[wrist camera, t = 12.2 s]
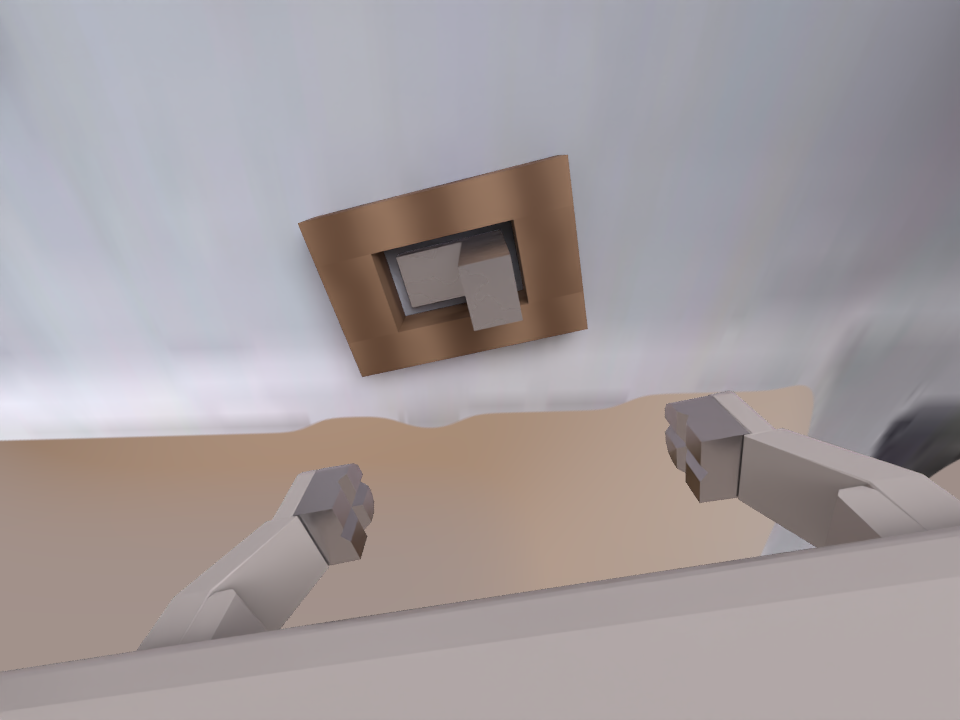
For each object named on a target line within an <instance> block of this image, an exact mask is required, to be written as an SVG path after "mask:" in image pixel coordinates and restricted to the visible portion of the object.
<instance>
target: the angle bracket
mask: <svg viewBox="0 0 960 720" xmlns="http://www.w3.org/2000/svg"><path fill="white" fill-rule="evenodd" d="M396 259H397V262H398V265H399V268H400V271H401V274H402V278H403V281H404V284H405V287H406V290H407V293H408V296H409V299H410V302H411V305H412V308H413V307H418V306H422V305H426V304H431V303H435V302H440V301H444V300H448V299H453V298H457V297H462V296H465V297H466V301H467V305H468V309H469V313H470V316H471V320H472V324H473V328H474V331H476V330H481V329H486V328H490V327H495V326H499V325H504V324H508V323H513V322H518V321H522V320H523V318H522V313H521V308H520V302H519V297H518V292H517V287H516V282H515V276H514V271H513V266H512V261H511V256H510V253H509V250H508V247H507V245H506V242H505V240H504V237H503V234H502V232H501V229H499V230H495V231H491V232H487V233H482V234H478V235H474V236H470V237H466V238H462V239H457V240H453V241H449V242H445V243H441V244H437V245H433V246H428V247H424V248H420V249H416V250H412V251H408V252H403V253H399V255H398V256H397V257H396Z"/></svg>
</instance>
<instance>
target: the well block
mask: <svg viewBox="0 0 960 720" xmlns="http://www.w3.org/2000/svg"><path fill="white" fill-rule="evenodd" d="M510 220H511V225H512V230H513V236H514V241H515V247H516V252H517V257H518V263H519V268H520V274H521V279H522V284H523V290H519V291H517V292H518V297H519V302H520V308H521V313H522V318H523V320H522V321H518V322H513V323H508V324H504V325H499V326H495V327H490V328H486V329H481V330H476V331H474V328H473V324H472V320H471V316H470V313H469V309H468V305H467V302H466V303H462V304H457V305H453V306H448V307H444V308H439V309H435V310H431V311H426V312H422V313H417V314H413V315H408V316H405V313H404V310H403V307H402V304H401V301H400V298H399V295H398V292H397V289H396V286H395V283H394V281H393V278H392V275H391V272H390V269H389V266H388V263H387V260H386V257H385V254H384V251H386V250H390V249H394V248H398V247H402V246H407V245H411V244H415V243H419V242H423V241H427V240H431V239H435V238H440V237H444V236H448V235H452V234H456V233H460V232H464V231H468V230H473V229H477V228H481V227H485V226H489V225H493V224H497V223H501V222H506V221H510ZM298 225H299V228H300V230H301V232H302V235H303V237H304V240H305V242H306V244H307V247H308V249H309V251H310V254H311V256H312V259H313V261H314V263H315V266H316V268H317V270H318V273H319V275H320V278H321V280H322V282H323V285H324V287H325V289H326V292H327V294H328V297H329V299H330V301H331V304H332V306H333V308H334V311H335V313H336V316H337V318H338V320H339V323H340V325H341V328H342V330H343V332H344V335H345V337H346V339H347V342H348V344H349V347H350V349H351V351H352V354H353V356H354V358H355V361H356V363H357V366H358V368H359V370H360V373H361V375H362V377H365V376H369V375H374V374H379V373H383V372H388V371H393V370H397V369H402V368H407V367H411V366H416V365H421V364H425V363H430V362H435V361H439V360H444V359H449V358H454V357H458V356H463V355H468V354H472V353H477V352H482V351H486V350H491V349H496V348H500V347H505V346H510V345H514V344H519V343H524V342H528V341H533V340H538V339H543V338H547V337H552V336H557V335H561V334H566V333H571V332H575V331H580V330H585V329H588V328H587V319H586V311H585V302H584V293H583V284H582V276H581V267H580V258H579V249H578V240H577V232H576V223H575V214H574V205H573V197H572V188H571V179H570V170H569V162H568V155H557V156H553V157H549V158H545V159H541V160H537V161H533V162H529V163H525V164H521V165H517V166H513V167H509V168H506V169H502V170H498V171H494V172H490V173H486V174H482V175H478V176H474V177H470V178H466V179H462V180H458V181H454V182H450V183H447V184H443V185H439V186H435V187H431V188H427V189H423V190H419V191H415V192H411V193H407V194H403V195H399V196H395V197H392V198H388V199H384V200H380V201H376V202H372V203H368V204H364V205H360V206H356V207H352V208H348V209H344V210H340V211H337V212H333V213H329V214H325V215H321V216H317V217H314V218H311V219H308V220H306V221H303V222H300V223H298Z"/></svg>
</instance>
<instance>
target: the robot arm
mask: <svg viewBox="0 0 960 720" xmlns="http://www.w3.org/2000/svg"><path fill="white" fill-rule="evenodd" d="M665 418H666V419H667V421H668V422H669V424H670V426H669V427H668V429H667V430H666V432H665V434H666V444H667V448H668V452H669V455H670V457H671V459H672V461H673V463H674V464H675V466H676V468H677V469H679V470H681V471H683V472H685V473H686V483H687V484H688V486H689V488H690V489H691V491H692V492H693V493H694V495H695V497H696V498H697V499H698V501H699V503H702V502H708V501H716V500H724V499H730V498H738V499H739V500H740V501H742V502H743V503H745V504H747V505H748V506H750V507H752V508H753V509H755V510H756V511H758V512H760V513H761V514H763V515H765V516H766V517H768V518H770V519H771V520H773V521H774V522H776V523H778V524H779V525H781V526H783V527H784V528H786V529H787V530H789V531H791V532H792V533H794V534H796V535H797V536H799V537H800V538H802V539H804V540H805V541H807V542H809V543H810V544H812V545H813V546H815V547H817V548H811V549H804V550H798V551H791V552H785V553H778V554H772V555H765V556H758V557H753V558H745V559H739V560H732V561H726V562H719V563H712V564H706V565H699V566H693V567H686V568H679V569H673V570H666V571H660V572H653V573H647V574H640V575H633V576H627V577H620V578H614V579H607V580H601V581H594V582H587V583H581V584H575V585H568V586H561V587H555V588H548V589H541V590H535V591H528V592H522V593H515V594H509V595H502V596H495V597H489V598H482V599H475V600H469V601H463V602H456V603H450V604H443V605H436V606H430V607H423V608H417V609H410V610H403V611H397V612H390V613H383V614H377V615H370V616H364V617H358V618H351V619H344V620H338V621H331V622H325V623H318V624H311V625H305V626H298V627H291V628H285V629H281V627H282V626H283V625H284V623H285V622H286V621H287V620H288V618H289V617H290V616H291V615H292V613H293V612H294V611H295V610H296V608H297V607H298V606H299V605H300V603H301V602H302V601H303V600H304V598H305V597H306V596H307V594H308V593H309V592H310V591H311V589H312V588H313V587H314V586H315V584H316V583H317V582H318V581H319V579H320V578H321V577H322V575H323V574H324V573H325V572H326V571H327V569H328V568H329V565H334V564H339V563H344V562H349V561H354V560H359V559H361V556H362V552H363V549H364V545H365V542H366V538H367V535H366V533H365V531H364V529H365V528H366V527H367V526H368V525H369V524H370V523H371V521H372V518H373V514H374V500H373V496H372V493H371V490H370V488H369V486H367V485H366V484H364V483H362V482H361V478H362V475H363V474H362V472H361V470H360V468H359V466H358V465H356V464H347V465H341V466H335V467H329V468H323V469H319V470H313V471H307V472H302V473H301V474H299V475H297V477H296V479H295V481H294V483H293V484H292V486H291V488H290V489H289V491H288V493H287V495H286V496H285V498H284V500H283V502H282V503H281V505H280V507H279V509H278V510H277V512H276V514H275V516H274V517H273V519H272V520H271V521H266V522H265V523H264V524H262V525H261V526H260V527H259V528H258V529H256V530H255V531H254V532H253V533H251V534H250V535H249V536H248V537H247V538H245V539H244V540H243V541H242V542H240V543H239V544H238V545H237V546H236V547H234V548H233V549H232V550H231V551H229V552H228V553H227V554H226V555H224V556H223V557H222V558H221V559H220V560H218V561H217V562H216V563H215V564H213V565H212V566H211V567H210V568H209V569H207V570H206V571H205V572H204V573H202V575H200V576H199V577H198V578H196V579H195V580H194V581H193V582H192V583H190V584H189V585H188V586H187V587H185V588H184V589H183V590H182V591H180V592H179V593H178V594H177V595H176V596H174V597H173V599H172V600H171V602H170V603H169V604H168V606H167V607H166V609H165V610H164V612H163V613H162V614H161V616H160V617H159V619H158V620H157V622H156V623H155V625H154V626H153V627H152V629H151V630H150V632H149V633H148V635H147V636H146V638H145V639H144V640H143V642H142V643H141V645H140V646H139V648H138V649H137V651H134V652H127V653H122V654H115V655H108V656H101V657H95V658H88V659H82V660H75V661H68V662H62V663H56V664H49V665H42V666H36V667H30V668H22V669H16V670H9V671H2V672H0V720H960V500H959V499H957V498H956V497H954V496H953V495H952V494H950V493H949V492H947V491H946V490H944V489H943V488H942V487H940V486H939V485H937V484H936V483H935V482H933V481H932V480H930V479H929V478H928V477H926V476H925V475H923V474H920V473H917V472H914V471H911V470H908V469H905V468H902V467H899V466H896V465H893V464H890V463H887V462H884V461H881V460H878V459H875V458H872V457H869V456H866V455H863V454H860V453H857V452H854V451H851V450H848V449H845V448H842V447H839V446H835V445H832V444H829V443H826V442H823V441H820V440H817V439H814V438H811V437H808V436H805V435H802V434H799V433H796V432H793V431H790V430H787V429H784V428H782V429H775V428H774V427H773V426H772V425H771V424H769V423H768V422H767V421H766V420H765V419H764V418H763V417H762V416H760V415H759V414H758V413H757V412H756V411H755V410H754V409H753V408H751V407H750V406H749V405H748V404H747V403H746V402H745V401H744V400H742V399H741V398H740V397H739V396H738V395H737V394H736V393H734V392H732V391H725V392H720V393H716V394H711V395H708V396H705V397H699V398H694V399H689V400H684V401H679V402H675V403H669V404H666V408H665Z"/></svg>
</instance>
